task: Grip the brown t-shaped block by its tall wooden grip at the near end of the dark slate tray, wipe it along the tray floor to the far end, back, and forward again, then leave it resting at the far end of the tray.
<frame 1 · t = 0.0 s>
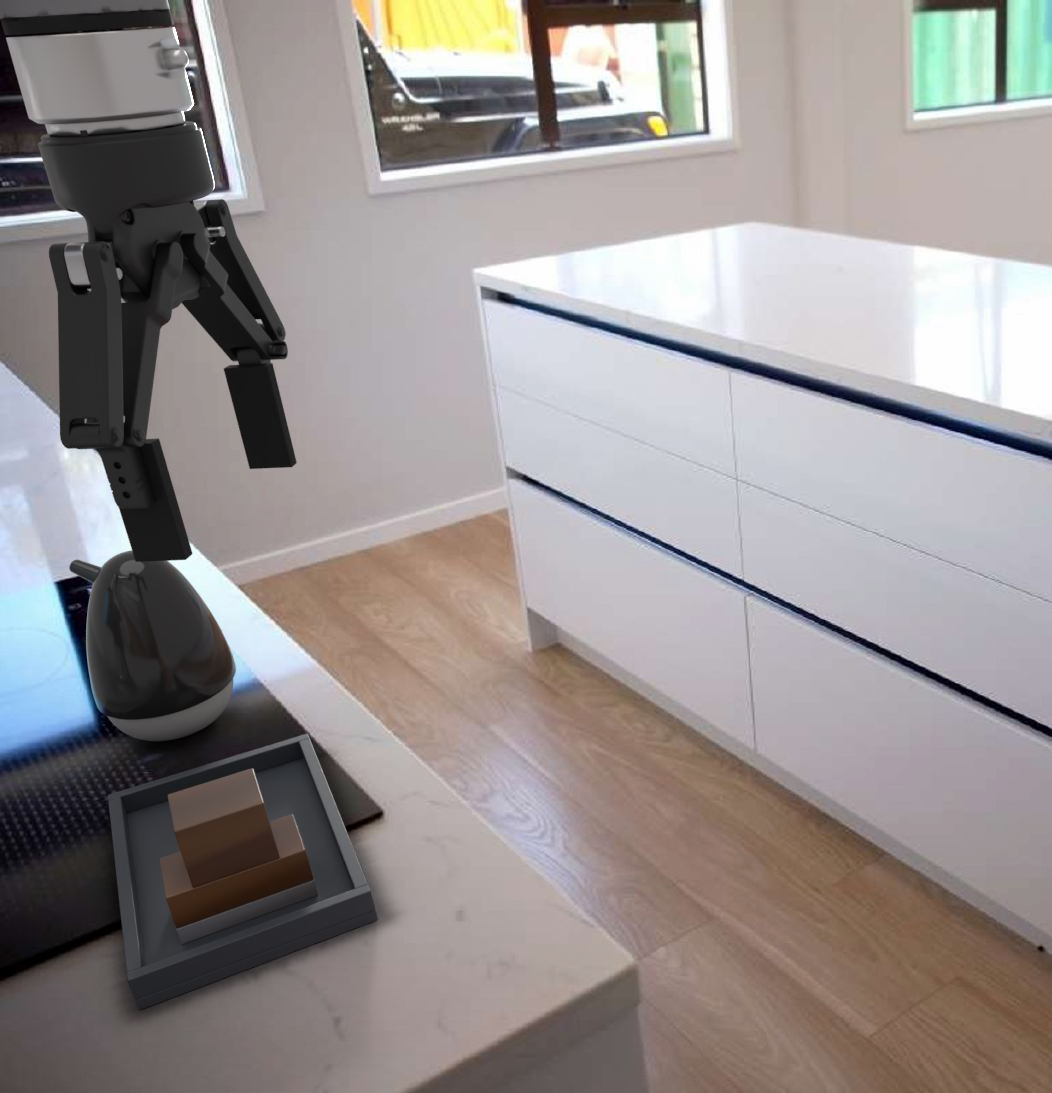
hand: (223, 508, 72), 26 cm above the worktop, tool pointing down, fingers open, 13 cm apart
tray: (238, 867, 83), on the worktop
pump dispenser: (179, 725, 101), on the worktop
brown t-shaped block: (246, 899, 79), point 1 cm above the worktop, touching tray
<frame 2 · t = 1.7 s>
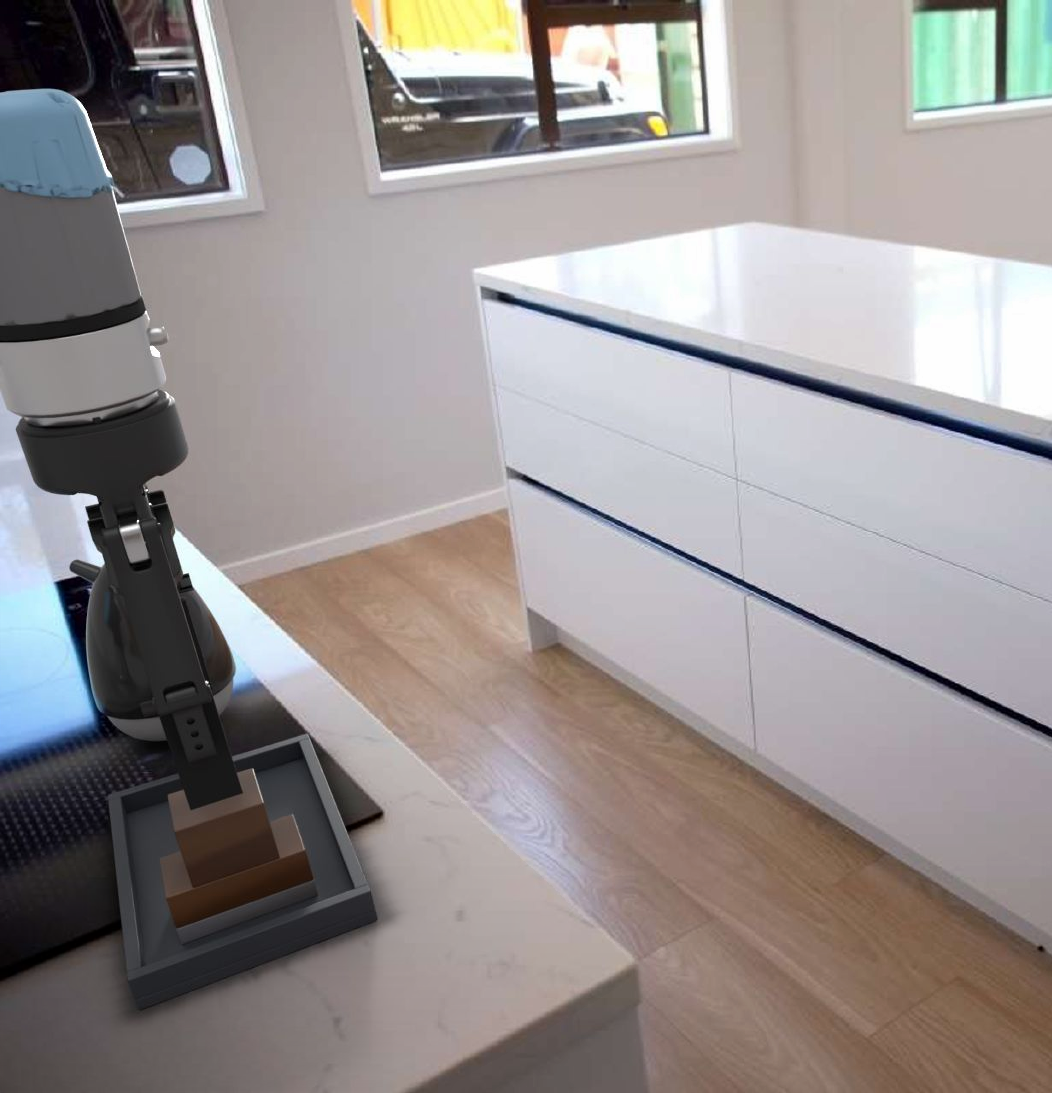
hand: (202, 743, 74), 13 cm above the worktop, tool pointing down, fingers open, 13 cm apart
nothing on the worktop moved.
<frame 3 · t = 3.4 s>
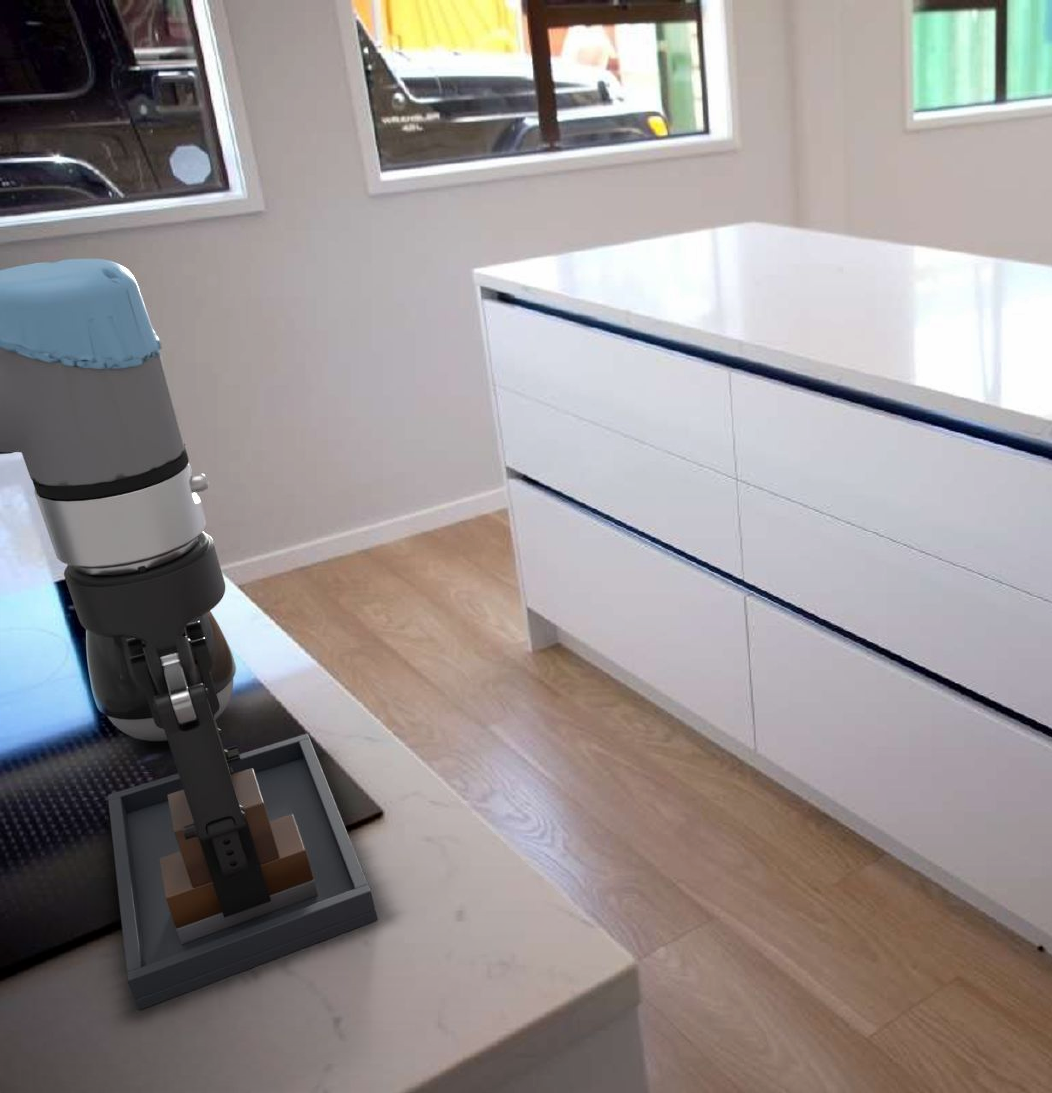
hand: (240, 881, 78), 2 cm above the worktop, tool pointing down, fingers closed on brown t-shaped block, 4 cm apart
brown t-shaped block: (246, 899, 79), point 1 cm above the worktop, touching gripper, tray
everything else where it was.
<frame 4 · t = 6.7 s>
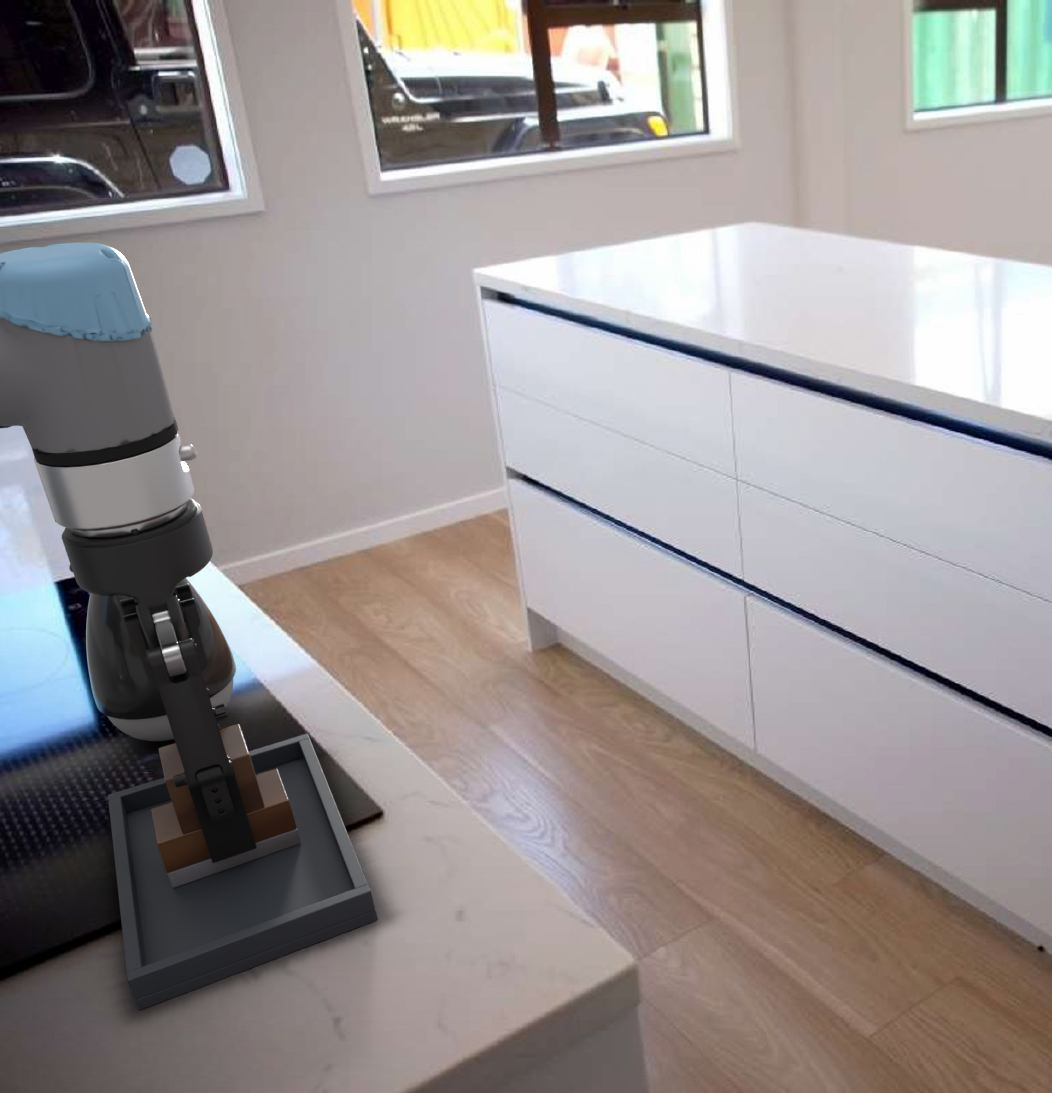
hand: (228, 831, 83), 2 cm above the worktop, tool pointing down, fingers closed on brown t-shaped block, 4 cm apart
brown t-shaped block: (233, 847, 84), point 1 cm above the worktop, touching gripper
everything else where it was.
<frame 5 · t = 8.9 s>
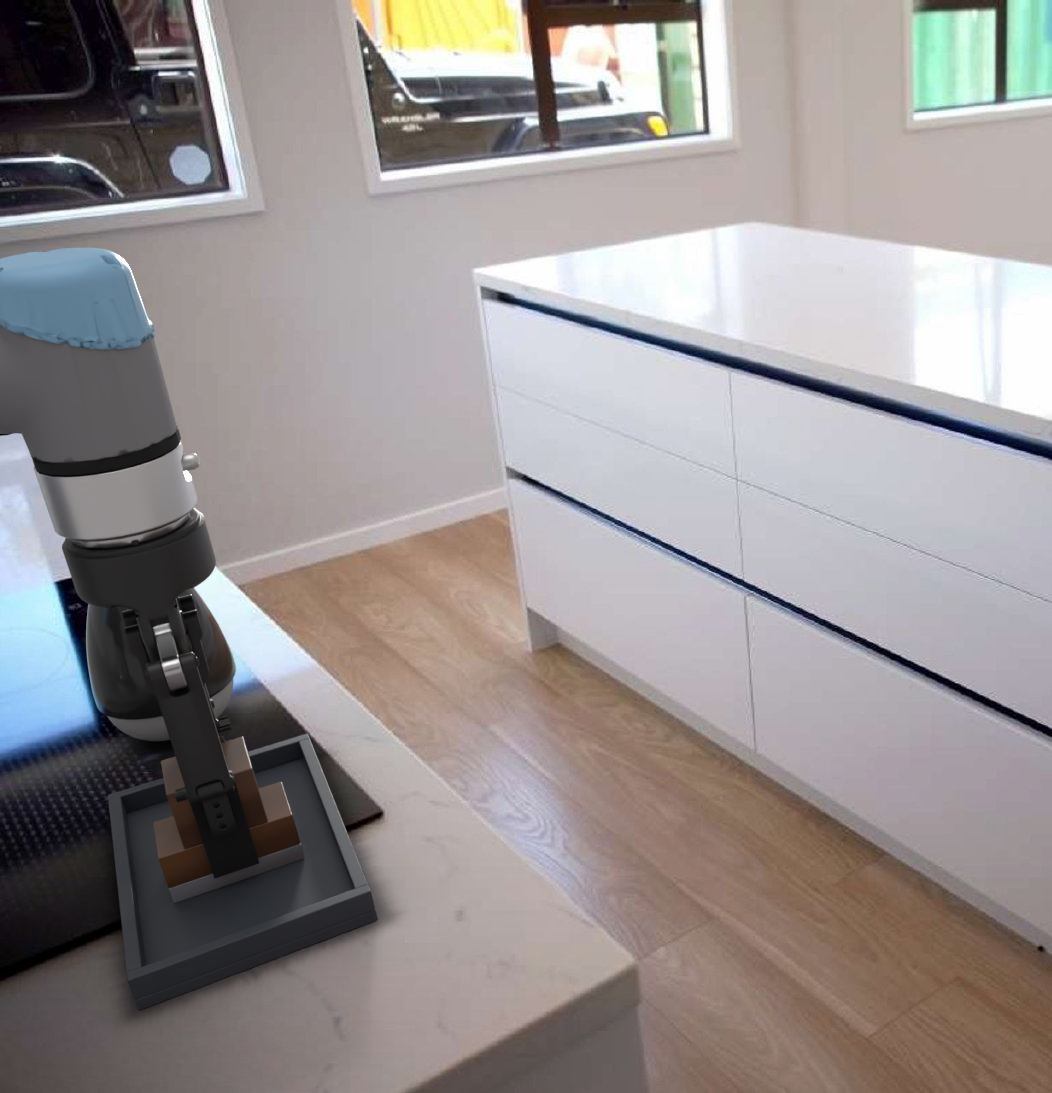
hand: (231, 845, 82), 2 cm above the worktop, tool pointing down, fingers closed on brown t-shaped block, 4 cm apart
brown t-shaped block: (236, 862, 83), point 1 cm above the worktop, touching gripper
everything else where it was.
when the fingers open (2 cm above the worktop, at t = 10.3 s): brown t-shaped block stays where it is, resting on tray.
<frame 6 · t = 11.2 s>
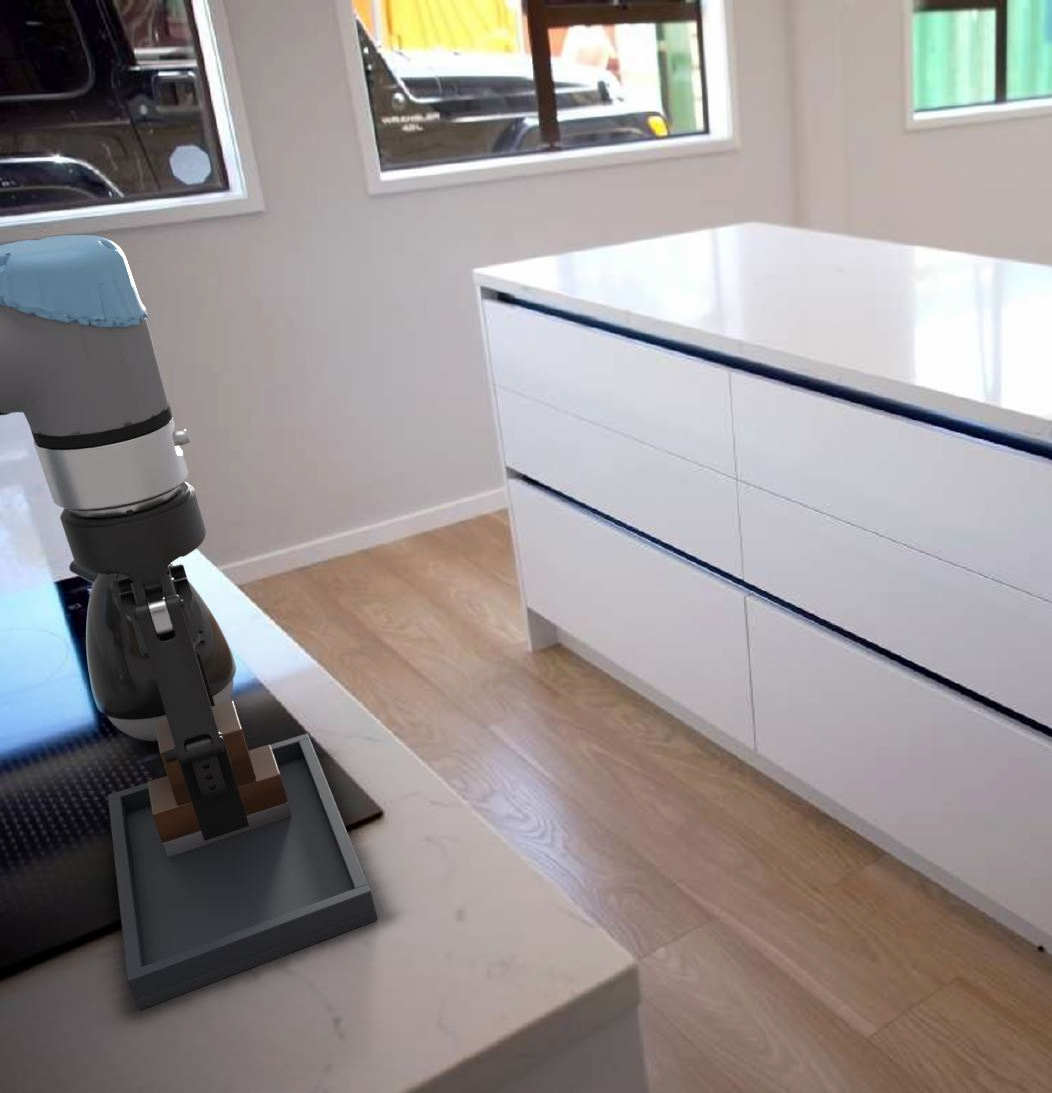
hand: (213, 780, 86), 4 cm above the worktop, tool pointing down, fingers open, 13 cm apart
brown t-shaped block: (226, 820, 87), point 1 cm above the worktop, touching tray
everything else where it was.
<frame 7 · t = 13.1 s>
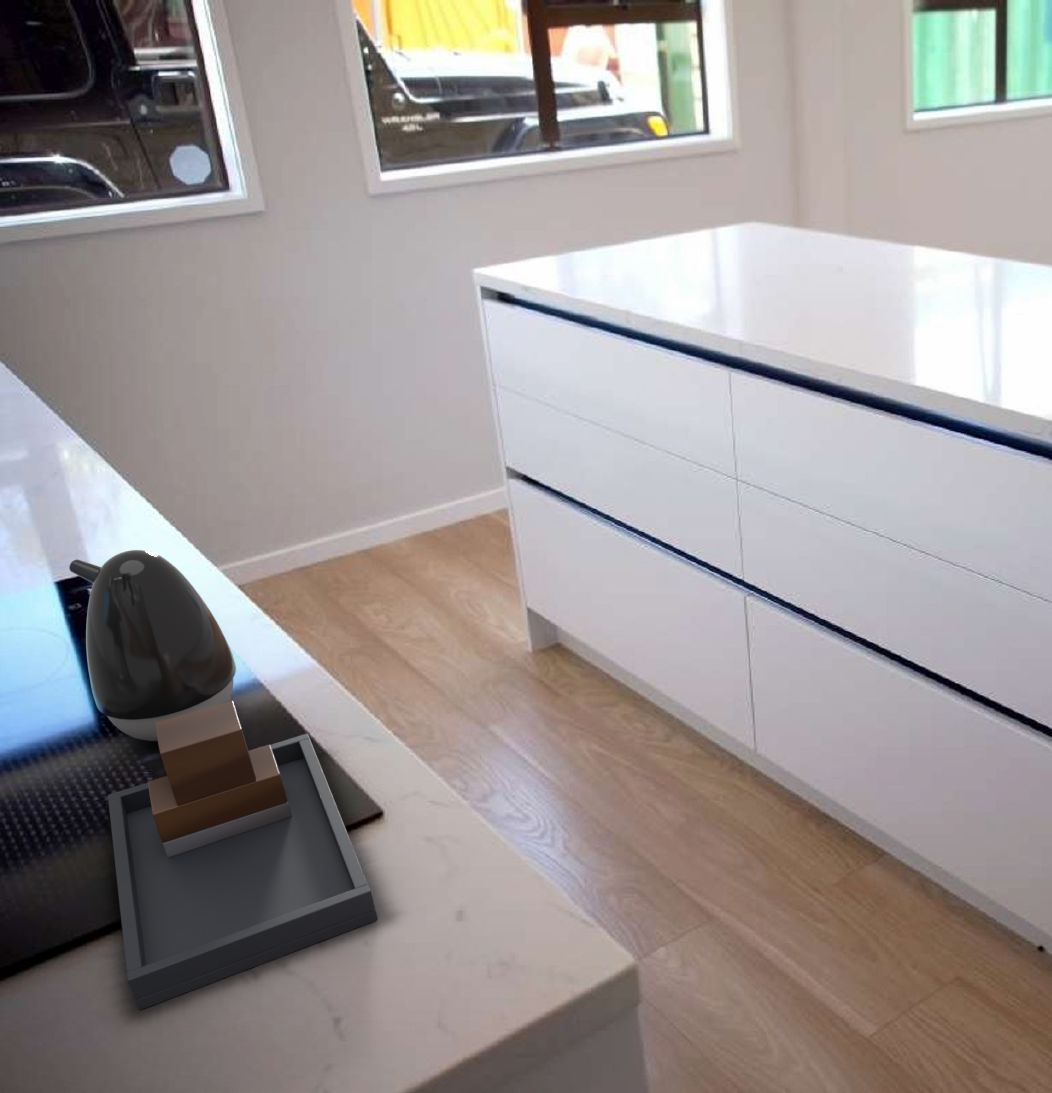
nothing on the worktop moved.
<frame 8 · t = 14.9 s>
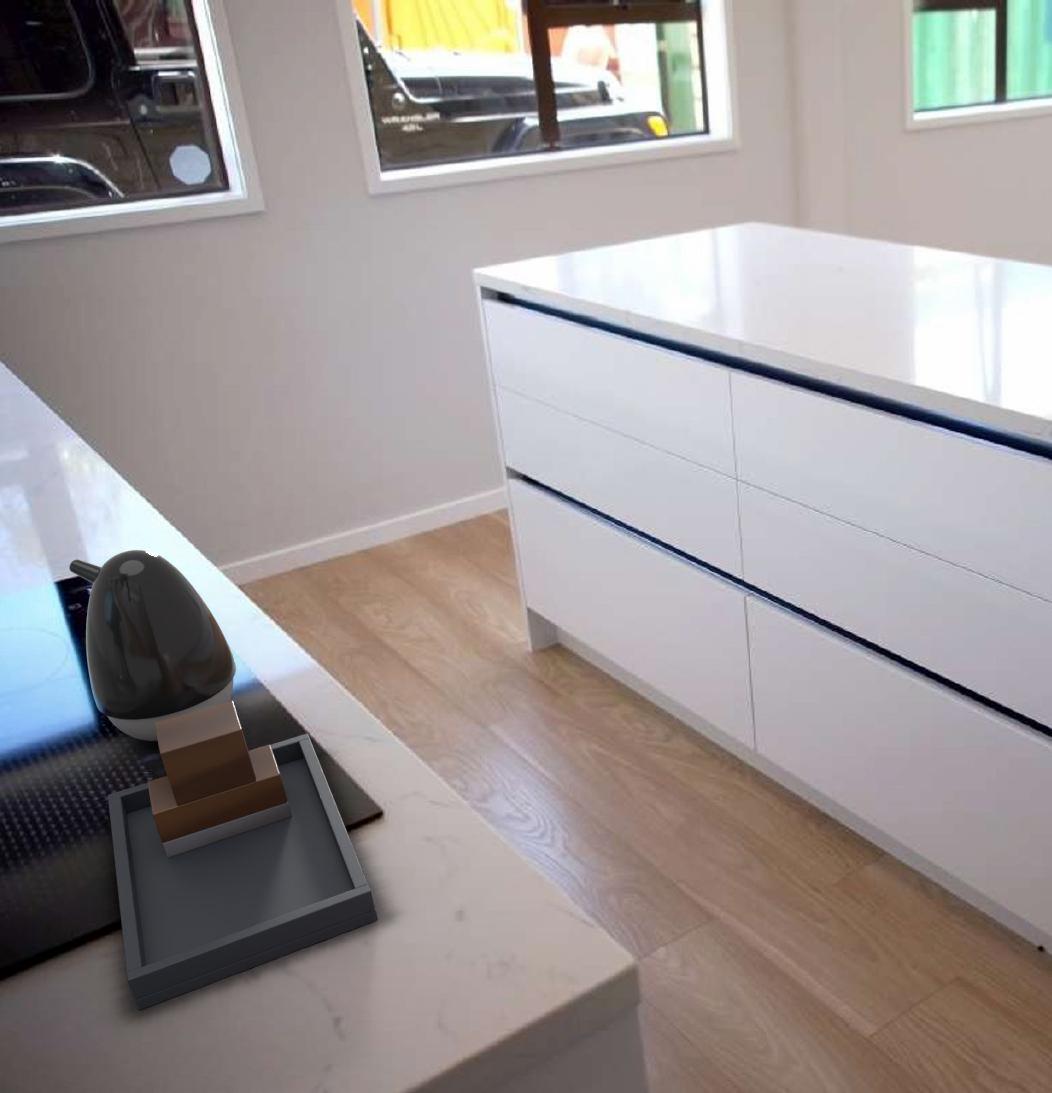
nothing on the worktop moved.
at the end: brown t-shaped block 0.5 cm from the target spot in the tray, point 0.8 cm above the tray's base; brown t-shaped block tilted 0°; the gripper is holding nothing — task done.
